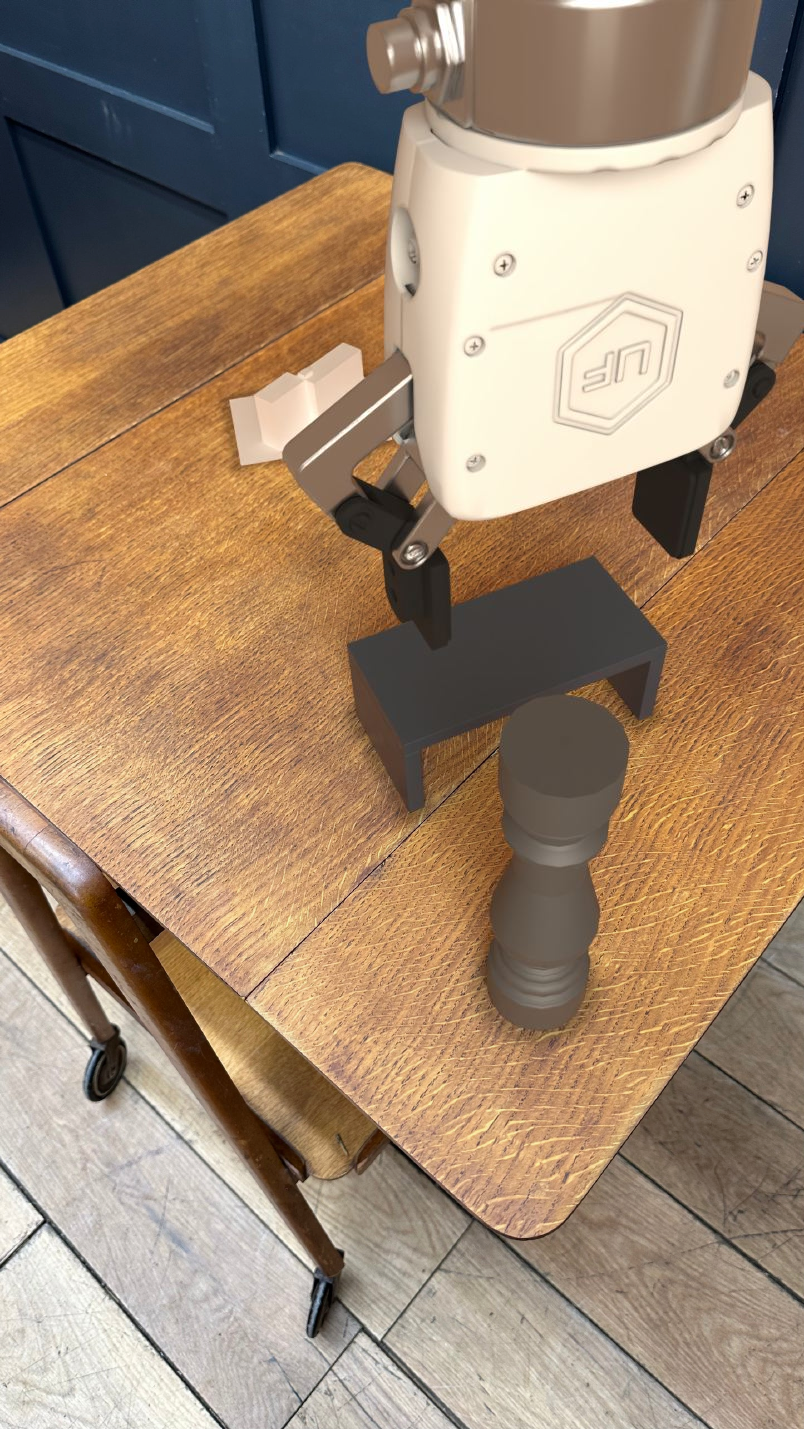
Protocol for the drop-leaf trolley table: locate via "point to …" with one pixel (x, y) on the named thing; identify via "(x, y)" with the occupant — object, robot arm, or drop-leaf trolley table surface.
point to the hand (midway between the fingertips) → (545, 577)
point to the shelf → (501, 663)
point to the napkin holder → (292, 404)
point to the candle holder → (551, 854)
